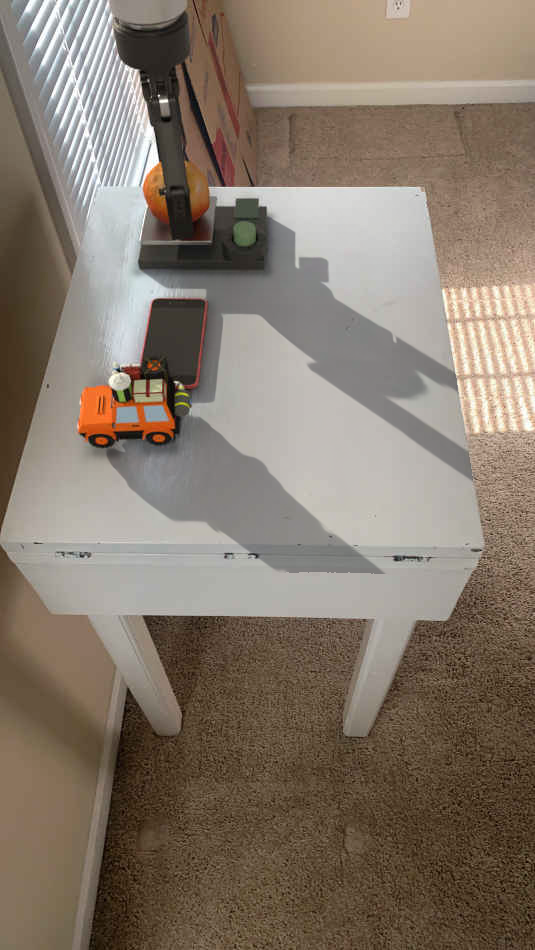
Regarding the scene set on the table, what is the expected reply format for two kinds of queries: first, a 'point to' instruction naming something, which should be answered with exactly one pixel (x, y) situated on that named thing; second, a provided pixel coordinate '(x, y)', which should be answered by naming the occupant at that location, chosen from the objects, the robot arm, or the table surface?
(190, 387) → the smartphone
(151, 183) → the fruit
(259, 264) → the scale
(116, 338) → the table surface
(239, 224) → the tare button
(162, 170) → the robot arm
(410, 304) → the table surface
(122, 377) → the toy car
